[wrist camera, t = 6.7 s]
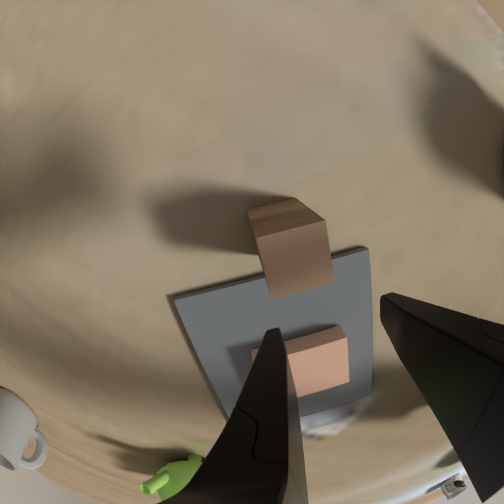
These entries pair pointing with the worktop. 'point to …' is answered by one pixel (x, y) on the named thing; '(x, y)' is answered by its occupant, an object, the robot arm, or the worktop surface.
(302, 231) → the walnut block
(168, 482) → the teapot
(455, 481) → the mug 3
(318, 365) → the tile
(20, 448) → the cup
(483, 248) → the worktop surface
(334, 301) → the mat
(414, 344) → the robot arm
